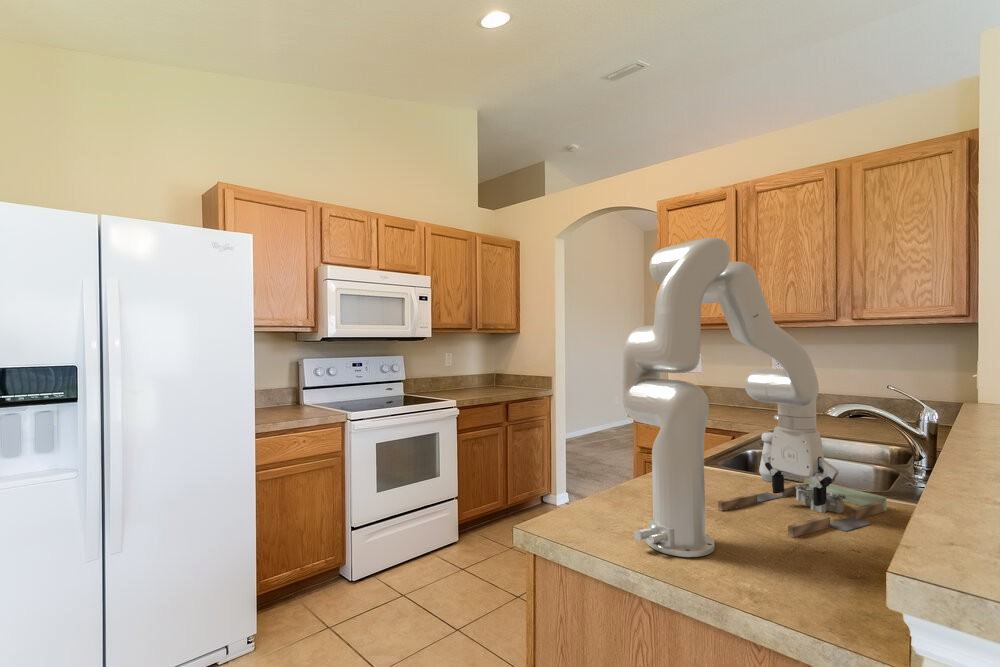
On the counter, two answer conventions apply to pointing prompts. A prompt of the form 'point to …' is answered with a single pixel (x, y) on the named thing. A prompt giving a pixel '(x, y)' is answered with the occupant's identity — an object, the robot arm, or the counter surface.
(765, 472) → the salt shaker
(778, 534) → the counter surface
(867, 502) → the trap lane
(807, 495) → the egg carton
